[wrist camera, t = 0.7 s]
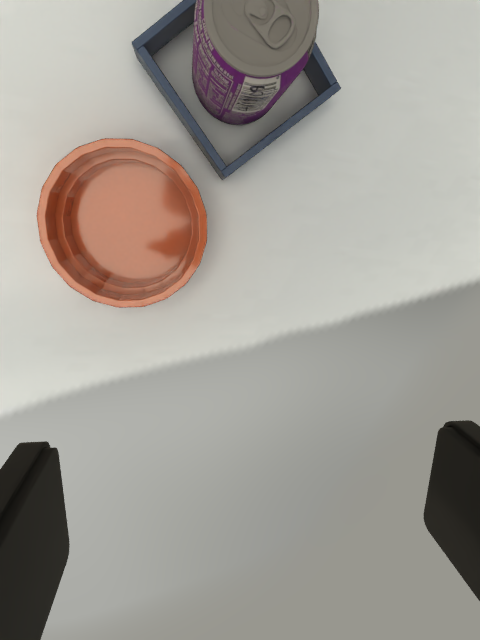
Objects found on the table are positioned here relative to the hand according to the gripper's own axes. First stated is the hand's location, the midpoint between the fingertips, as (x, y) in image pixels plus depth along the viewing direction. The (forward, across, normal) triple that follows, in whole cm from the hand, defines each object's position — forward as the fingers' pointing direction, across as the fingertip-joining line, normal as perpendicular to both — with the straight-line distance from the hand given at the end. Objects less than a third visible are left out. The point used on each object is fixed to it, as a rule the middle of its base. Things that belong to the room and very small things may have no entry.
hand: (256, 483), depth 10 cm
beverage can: (+29, -2, -16) cm, 33 cm away
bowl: (+28, +6, -5) cm, 29 cm away
